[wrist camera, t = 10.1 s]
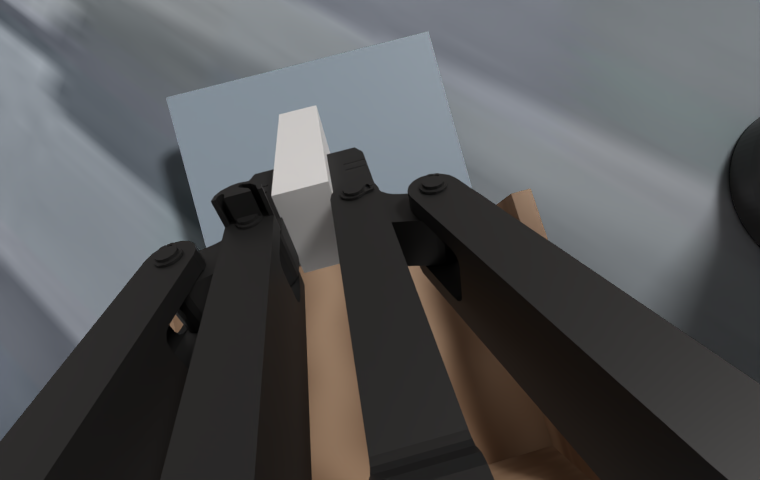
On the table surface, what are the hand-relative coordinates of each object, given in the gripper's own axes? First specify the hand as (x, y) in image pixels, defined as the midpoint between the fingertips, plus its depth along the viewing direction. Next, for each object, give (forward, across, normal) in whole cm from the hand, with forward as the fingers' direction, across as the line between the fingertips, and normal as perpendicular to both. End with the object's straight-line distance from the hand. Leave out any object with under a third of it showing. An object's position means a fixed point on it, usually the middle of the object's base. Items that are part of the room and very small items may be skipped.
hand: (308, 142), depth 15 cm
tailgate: (+9, 0, -11) cm, 14 cm away
